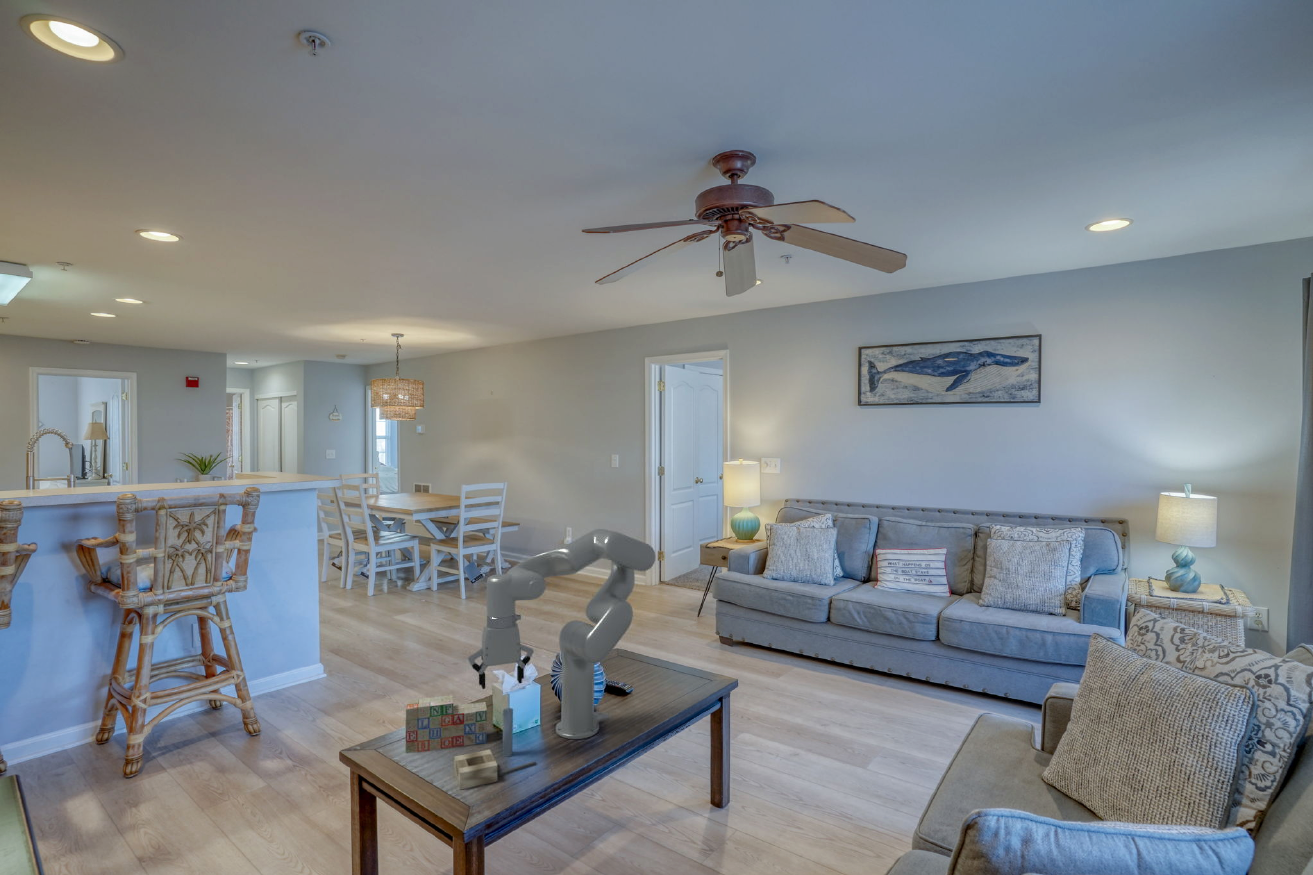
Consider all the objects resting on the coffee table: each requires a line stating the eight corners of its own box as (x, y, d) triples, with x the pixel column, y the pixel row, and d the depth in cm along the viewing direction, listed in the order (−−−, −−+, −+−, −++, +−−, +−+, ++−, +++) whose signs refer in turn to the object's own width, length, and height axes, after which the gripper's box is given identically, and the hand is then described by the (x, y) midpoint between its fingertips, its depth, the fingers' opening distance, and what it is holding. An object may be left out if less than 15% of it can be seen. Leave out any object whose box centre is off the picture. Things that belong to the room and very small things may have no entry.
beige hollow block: (489, 764, 166) (489, 749, 166) (497, 781, 158) (497, 765, 158) (453, 772, 162) (454, 756, 162) (459, 789, 154) (460, 773, 154)
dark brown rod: (534, 763, 167) (534, 761, 167) (536, 764, 166) (536, 762, 166) (498, 774, 161) (498, 772, 161) (499, 775, 160) (499, 773, 160)
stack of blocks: (485, 733, 184) (486, 691, 184) (486, 743, 178) (487, 699, 178) (406, 743, 177) (407, 699, 177) (404, 754, 171) (405, 708, 171)
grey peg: (511, 751, 173) (511, 707, 173) (513, 755, 171) (514, 710, 171) (501, 753, 172) (502, 708, 172) (503, 757, 170) (504, 712, 170)
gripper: (530, 613, 178) (530, 674, 178) (466, 621, 172) (466, 684, 172) (535, 621, 171) (536, 684, 171) (469, 628, 165) (469, 694, 165)
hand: (501, 684), depth 171 cm, fingers open, 9 cm apart
